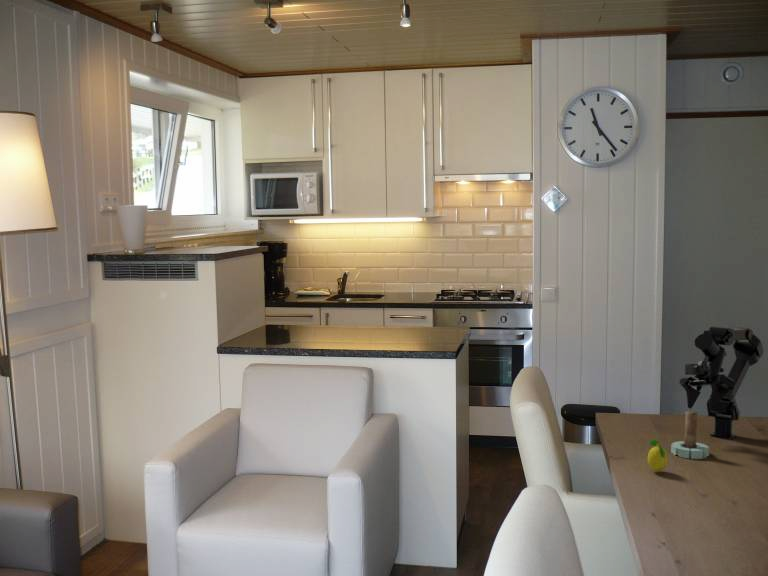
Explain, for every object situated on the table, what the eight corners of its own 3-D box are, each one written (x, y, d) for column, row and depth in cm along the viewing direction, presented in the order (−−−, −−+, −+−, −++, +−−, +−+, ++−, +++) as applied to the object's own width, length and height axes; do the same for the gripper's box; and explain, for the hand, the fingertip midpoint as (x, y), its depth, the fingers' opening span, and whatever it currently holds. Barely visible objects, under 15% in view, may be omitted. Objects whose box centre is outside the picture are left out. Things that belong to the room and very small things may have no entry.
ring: (679, 447, 262) (680, 439, 262) (713, 453, 256) (713, 445, 255) (666, 454, 255) (666, 446, 254) (700, 461, 248) (700, 452, 248)
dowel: (689, 451, 257) (690, 410, 256) (698, 454, 254) (699, 412, 253) (681, 453, 256) (683, 411, 255) (690, 456, 253) (691, 414, 252)
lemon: (649, 467, 242) (650, 433, 241) (669, 470, 239) (671, 436, 238) (643, 473, 236) (644, 439, 235) (664, 476, 233) (665, 442, 232)
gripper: (673, 354, 273) (660, 398, 268) (715, 349, 256) (702, 396, 251) (698, 368, 276) (686, 412, 271) (741, 365, 259) (729, 411, 254)
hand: (699, 407), depth 262 cm, fingers open, 9 cm apart
